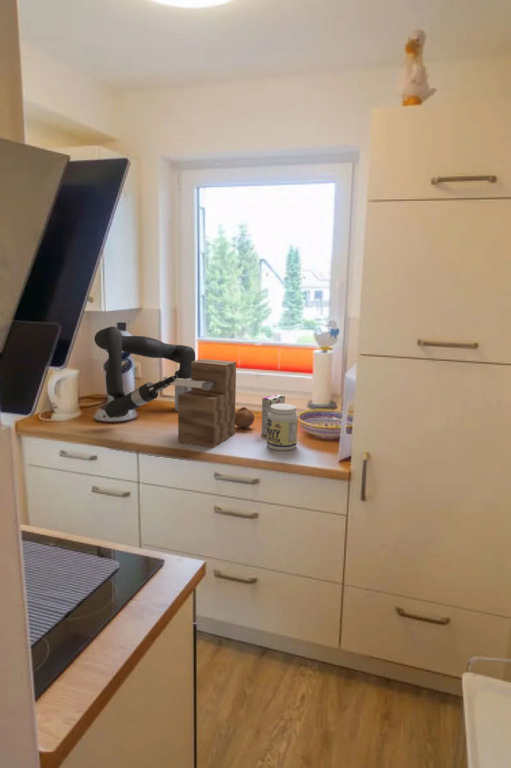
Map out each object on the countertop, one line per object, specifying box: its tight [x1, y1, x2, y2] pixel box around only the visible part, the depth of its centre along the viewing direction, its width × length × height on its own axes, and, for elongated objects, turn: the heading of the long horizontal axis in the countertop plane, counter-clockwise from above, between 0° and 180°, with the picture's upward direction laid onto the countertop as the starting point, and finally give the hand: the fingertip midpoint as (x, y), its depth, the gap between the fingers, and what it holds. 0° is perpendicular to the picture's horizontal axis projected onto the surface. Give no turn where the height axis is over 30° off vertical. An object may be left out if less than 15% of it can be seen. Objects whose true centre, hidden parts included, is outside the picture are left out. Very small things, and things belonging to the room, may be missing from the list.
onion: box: [235, 406, 255, 429], centre depth 229 cm, size 10×9×10 cm
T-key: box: [162, 376, 217, 391], centre depth 206 cm, size 8×22×2 cm, turn 68°
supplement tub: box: [266, 403, 299, 452], centre depth 205 cm, size 12×12×17 cm
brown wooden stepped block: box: [177, 358, 237, 449], centre depth 211 cm, size 21×16×32 cm
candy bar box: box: [261, 393, 286, 436], centre depth 224 cm, size 11×5×16 cm, turn 143°
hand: (175, 377), depth 208 cm, fingers closed on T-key, 2 cm apart
